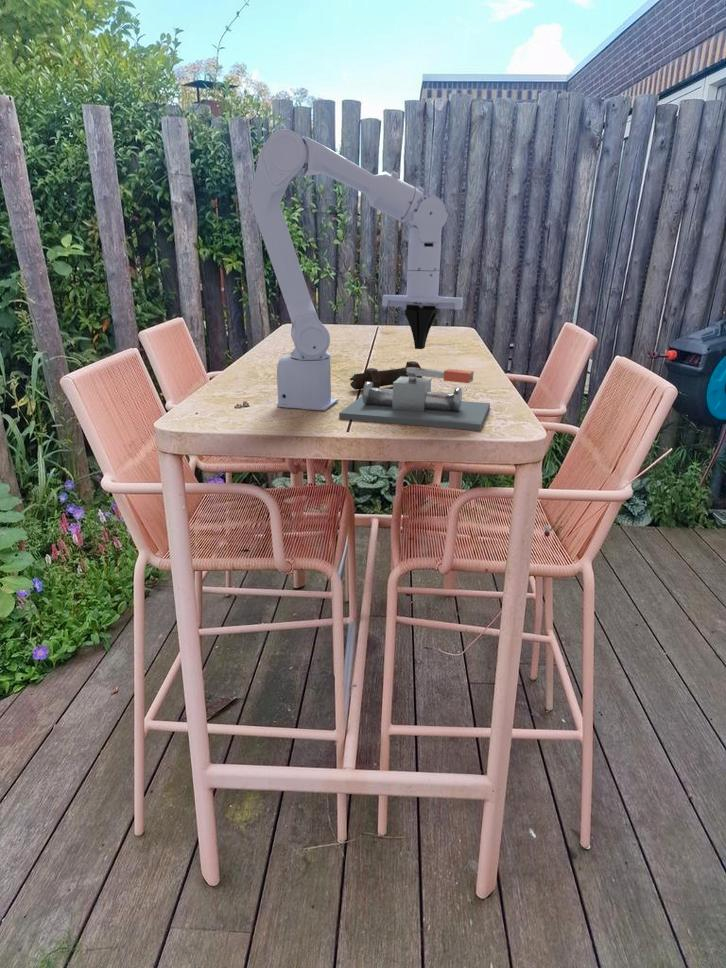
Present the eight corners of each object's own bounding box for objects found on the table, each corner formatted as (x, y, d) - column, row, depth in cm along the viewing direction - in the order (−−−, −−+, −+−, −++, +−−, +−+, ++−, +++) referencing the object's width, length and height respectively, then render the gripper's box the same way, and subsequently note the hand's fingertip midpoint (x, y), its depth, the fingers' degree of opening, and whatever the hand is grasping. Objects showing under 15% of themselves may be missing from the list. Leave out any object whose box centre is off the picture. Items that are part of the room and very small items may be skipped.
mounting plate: (339, 418, 102) (339, 412, 101) (364, 398, 115) (364, 393, 115) (480, 430, 95) (480, 424, 95) (489, 408, 109) (490, 403, 108)
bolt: (351, 399, 123) (414, 390, 128) (359, 392, 118) (425, 383, 124) (344, 372, 123) (408, 365, 129) (353, 364, 119) (418, 356, 124)
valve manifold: (361, 407, 105) (361, 374, 103) (370, 400, 110) (370, 369, 108) (457, 415, 100) (459, 381, 98) (461, 407, 105) (463, 374, 103)
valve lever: (404, 376, 103) (404, 367, 102) (409, 374, 104) (409, 365, 104) (468, 383, 98) (469, 373, 97) (472, 380, 99) (473, 371, 99)
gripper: (377, 270, 104) (375, 348, 109) (459, 272, 99) (453, 354, 104) (389, 269, 110) (387, 343, 115) (467, 271, 105) (461, 348, 110)
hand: (419, 348), depth 110 cm, fingers closed
